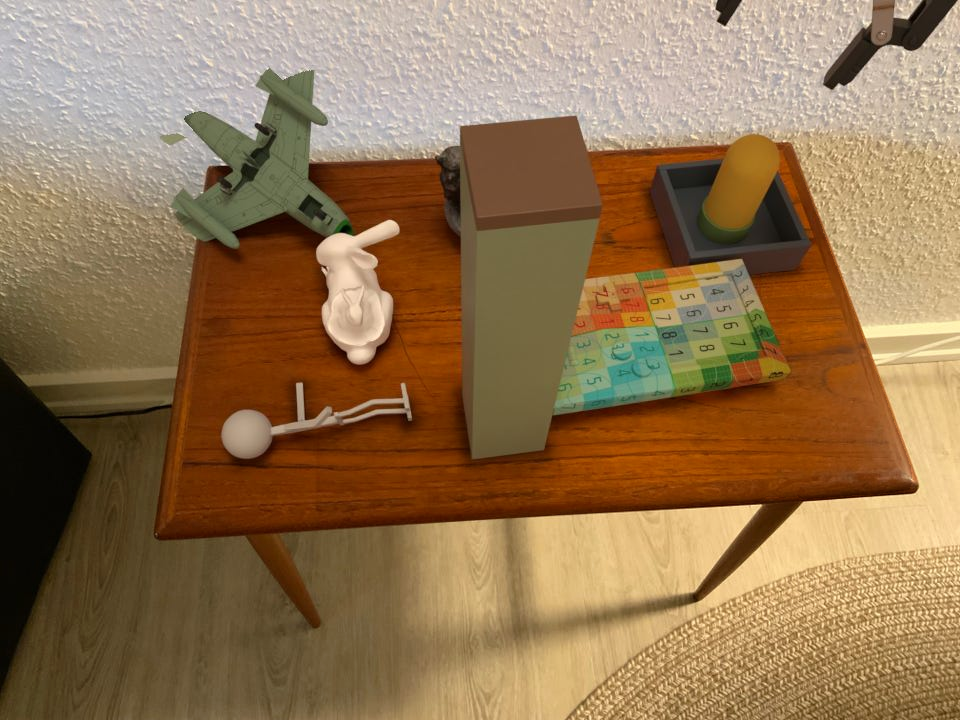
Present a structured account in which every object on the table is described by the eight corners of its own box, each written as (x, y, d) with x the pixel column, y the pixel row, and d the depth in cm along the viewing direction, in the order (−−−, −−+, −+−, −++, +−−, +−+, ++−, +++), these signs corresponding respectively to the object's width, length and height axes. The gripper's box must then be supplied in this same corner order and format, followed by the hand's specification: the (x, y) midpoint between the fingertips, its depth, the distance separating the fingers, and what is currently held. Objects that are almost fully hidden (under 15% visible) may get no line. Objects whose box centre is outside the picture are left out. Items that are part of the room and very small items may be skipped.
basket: (795, 270, 70) (812, 245, 67) (679, 283, 69) (690, 258, 66) (756, 180, 76) (769, 153, 72) (648, 191, 75) (657, 164, 71)
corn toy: (755, 241, 71) (799, 160, 61) (705, 247, 70) (741, 166, 61) (739, 202, 73) (779, 118, 64) (690, 207, 73) (723, 123, 63)
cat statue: (562, 208, 73) (574, 131, 65) (561, 265, 70) (574, 192, 61) (441, 200, 74) (438, 123, 65) (435, 257, 70) (430, 183, 61)
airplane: (330, 236, 63) (379, 267, 73) (343, -9, 67) (388, 51, 76) (104, 253, 70) (176, 279, 80) (127, 30, 74) (193, 81, 83)
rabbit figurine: (321, 265, 69) (301, 195, 61) (401, 255, 70) (392, 184, 62) (331, 377, 63) (310, 316, 55) (418, 364, 64) (411, 302, 56)
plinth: (544, 450, 61) (603, 204, 35) (471, 459, 60) (476, 217, 34) (531, 386, 64) (576, 114, 37) (462, 394, 63) (459, 125, 37)
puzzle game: (524, 282, 63) (745, 252, 65) (520, 312, 67) (728, 283, 69) (554, 403, 58) (796, 366, 60) (548, 428, 62) (774, 392, 64)
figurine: (397, 342, 58) (203, 377, 57) (410, 417, 56) (211, 455, 55) (402, 365, 64) (227, 397, 62) (414, 434, 62) (234, 468, 61)
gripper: (852, -283, 36) (675, 18, 49) (1099, -135, 37) (861, 128, 49) (857, -292, 41) (696, -17, 54) (1075, -163, 42) (864, 82, 54)
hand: (775, 52), depth 51 cm, fingers open, 8 cm apart
